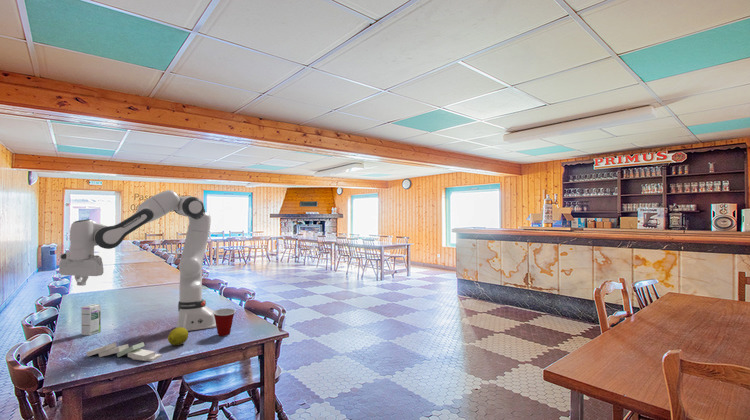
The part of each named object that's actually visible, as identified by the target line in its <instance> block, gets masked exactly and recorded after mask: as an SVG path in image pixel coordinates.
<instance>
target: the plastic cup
mask: <svg viewBox="0 0 750 420" xmlns="http://www.w3.org/2000/svg"><path fill="white" fill-rule="evenodd" d="M235 313H236V309H234V308H226V307H225V308H218V309H216V310H213V314H214V316H215V322H216V327H215V328H216V330H217V331H216V333H217V335H218V336H220V337H225V336H229V335H230V334H231V330H232V325H233V320H234V315H235Z"/></svg>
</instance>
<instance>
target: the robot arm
mask: <svg viewBox="0 0 750 420" xmlns="http://www.w3.org/2000/svg"><path fill="white" fill-rule="evenodd" d="M170 212H175V214H177V215H179V216H184V217H187V218H188V221H189V222H188V226H187V231H186V234H185V240H184V244H183V249H182V251H181V257H180V261H179V263H178V269H179V300H178V304H177V309H178V310H177V311H178V316H177V323H176V325H175V328H178V327H183V328H185V329H186V330H187V331H188V332H189V331H197V330H205V329H211V328H216V322H215V316H214V314H213V311H214V310H213V309H212V308H210V307H208V306H207V305H206V304H207V301H206V299H203V297H202V296H203V288H202V287H203V286H202V285H203V263H204V258H205V255H206V249H207V244H208V241H209V240H208V239H209V236H210V230H211V222H212V221H211V220H212V219H211V215H210V213H208V212H207V211H206V209H205V204H204V202H203V201H202V199H200V198H199V197H196V196H191V195H187V196H185V195H184V196H182V195H181V196H179V195H178V193H177V192H175V191H174V190H171V189H167V190H163V191H162V192H159V193H157V194H154V195H152V196H151V197H149V198H147V199H145V200H144V201H143V202H142V203H140V204H139V205H138V206H137V210H136V211H135V212H134V213H133V214H132V215H130V216H129V217H127V218H125V219H124V220H123V221H120V222H119V223H117V224H114V225H110V226H108V225H104V224H102V223H98V222H96V221H95V220H94V219H89V218H87V219H81V220H75V221H73V222H72V223H71V225H70V229H69V242H70V246H69V249H68V250H69V251H66V252H64V253H61V254H59V259H60V260H59V265H58V267H59V268H58V270H59V274H60V275H61V276H74V279H75V281H76V285H77V286H82V287H83V286H84V287H85V286H86V285H87V281H88V280H89V277H99V276H102V275H104V263H103V260H102V257H101V256H100V255H98V254H96V255H95V246H98V247H100V248H102V249H105V250H106V249H107V250H110V249H114V248H117V247H118V246H119V245H120V244H121V243H122V242H123V241H124V240H125V238H126V237H127V236H128V235H129V234H131V233H132V232H134V231H136V230H137V229H139V228H140V227H143V226H144V225H145V224H149V223H152V222H154V221H156V220H158V219H160V218H162V217H163V216H166V215H167V214H168V213H170Z"/></svg>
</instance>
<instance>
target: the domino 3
mask: <svg viewBox="0 0 750 420" xmlns="http://www.w3.org/2000/svg"><path fill="white" fill-rule="evenodd" d="M143 347H145V343H144V341H142V342H140V343H136V344H134V345H130V346H129V348H127V349H125V350H123V351H121V352H118V353H116V356H117V358H120V357H123V356H126V355H128V352H131V351H134V350H137V349H142V348H143Z"/></svg>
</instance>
